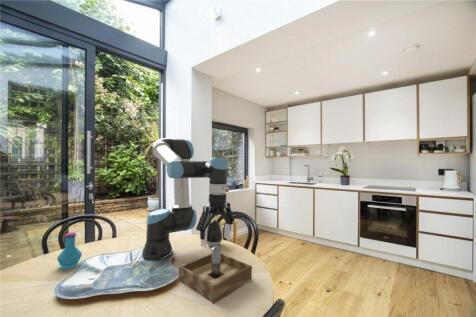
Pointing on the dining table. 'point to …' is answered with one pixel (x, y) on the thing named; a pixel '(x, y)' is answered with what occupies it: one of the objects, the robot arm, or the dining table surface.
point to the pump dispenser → (214, 234)
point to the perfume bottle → (69, 253)
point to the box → (208, 287)
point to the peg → (216, 262)
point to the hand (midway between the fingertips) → (215, 242)
